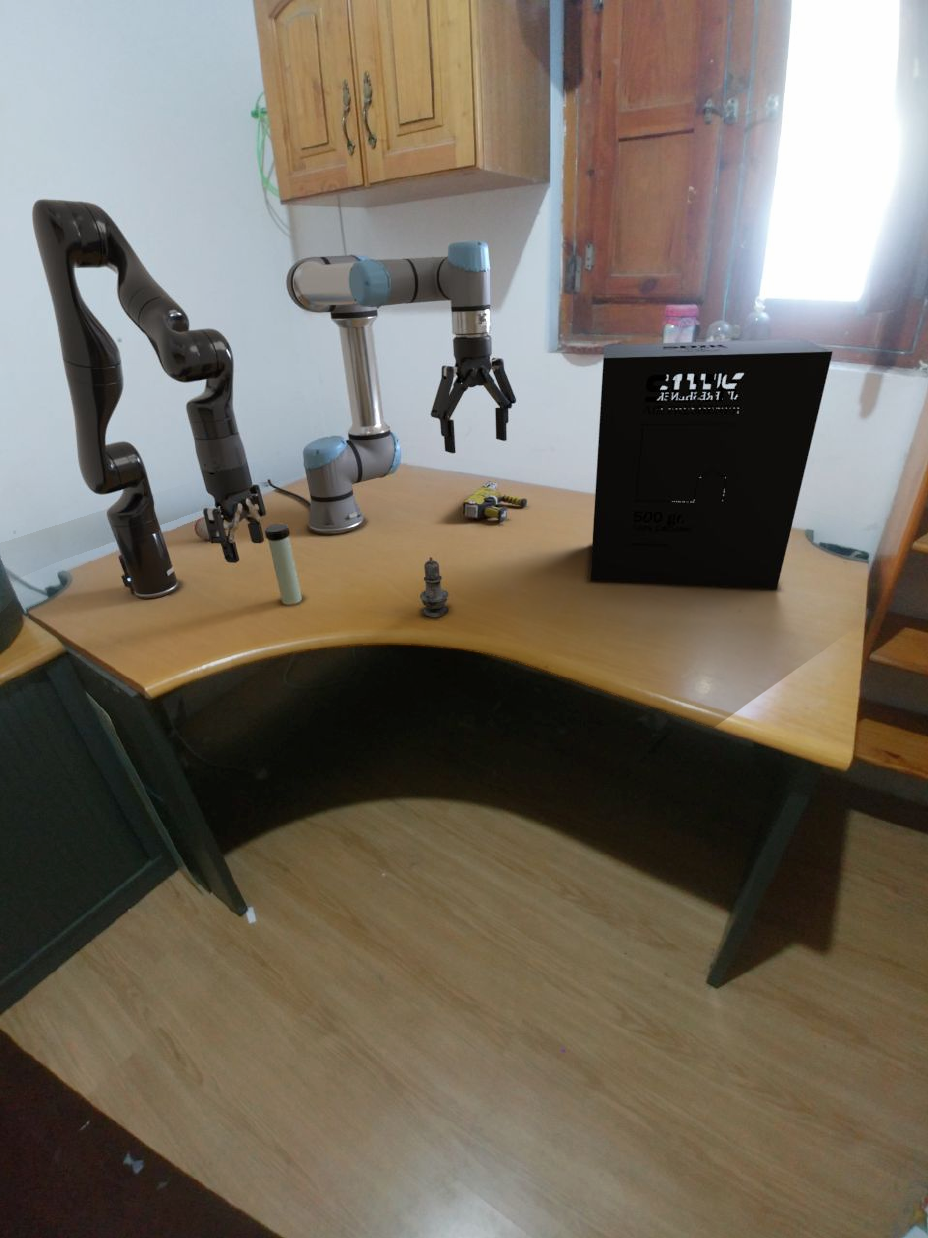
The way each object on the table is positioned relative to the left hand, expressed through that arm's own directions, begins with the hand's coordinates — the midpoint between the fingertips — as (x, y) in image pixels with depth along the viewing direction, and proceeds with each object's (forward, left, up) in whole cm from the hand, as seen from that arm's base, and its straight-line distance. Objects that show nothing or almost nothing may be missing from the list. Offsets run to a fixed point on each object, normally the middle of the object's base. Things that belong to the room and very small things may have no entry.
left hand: (246, 551), depth 108 cm
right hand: (+34, +38, +10) cm, 52 cm away
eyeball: (-43, +45, -18) cm, 65 cm away
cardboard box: (+78, +44, -18) cm, 92 cm away
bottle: (-3, +15, -18) cm, 24 cm away
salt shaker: (+30, +15, -18) cm, 38 cm away
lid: (-3, +15, -2) cm, 16 cm away
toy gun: (+31, +77, -18) cm, 85 cm away
